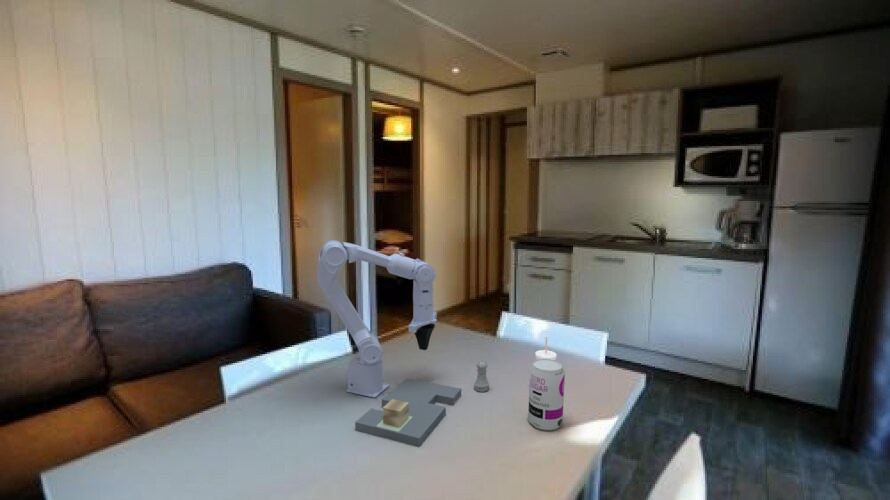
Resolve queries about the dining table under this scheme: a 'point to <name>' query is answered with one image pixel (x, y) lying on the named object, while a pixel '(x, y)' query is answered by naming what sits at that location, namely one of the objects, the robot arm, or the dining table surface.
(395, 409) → the oak block
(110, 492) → the dining table surface
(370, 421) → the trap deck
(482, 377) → the rook chess piece
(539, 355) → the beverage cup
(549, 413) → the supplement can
